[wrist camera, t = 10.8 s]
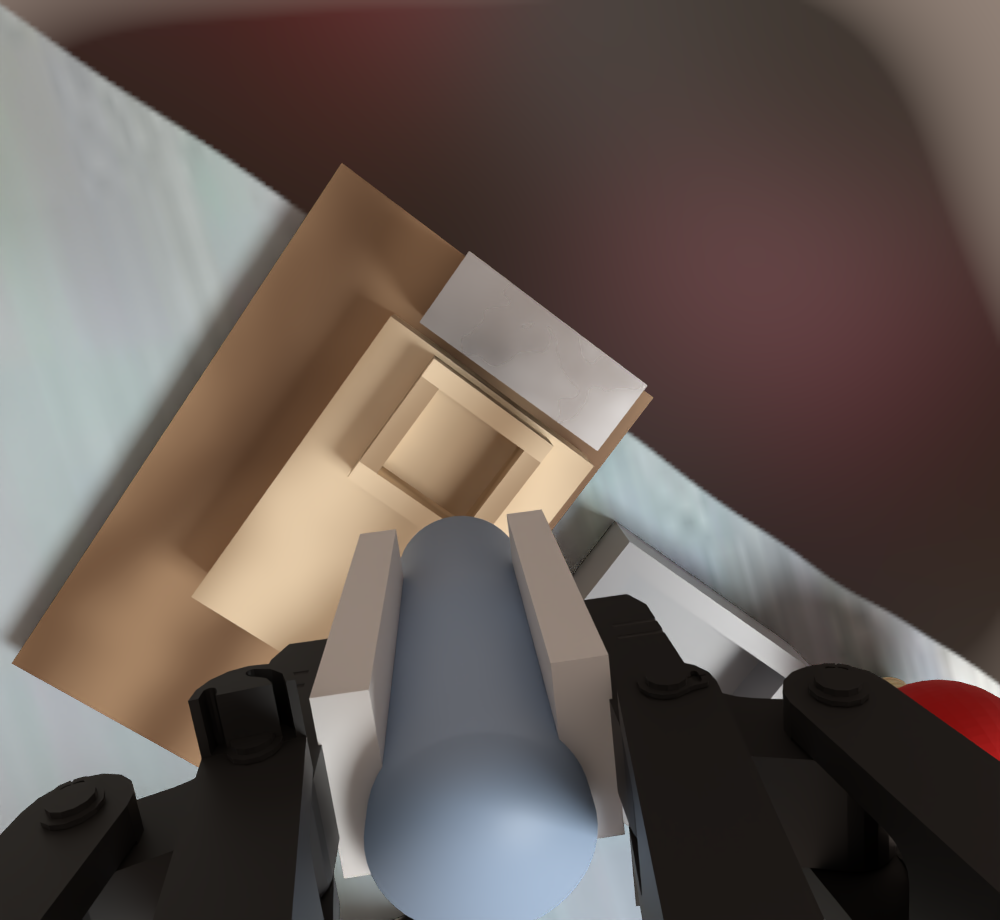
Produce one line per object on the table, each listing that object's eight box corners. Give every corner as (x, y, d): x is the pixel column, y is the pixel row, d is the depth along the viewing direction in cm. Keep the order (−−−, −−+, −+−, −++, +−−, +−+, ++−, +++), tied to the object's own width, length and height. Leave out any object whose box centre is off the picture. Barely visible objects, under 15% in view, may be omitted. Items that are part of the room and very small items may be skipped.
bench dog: (423, 316, 32) (419, 322, 27) (465, 255, 31) (469, 251, 27) (575, 426, 33) (597, 451, 28) (617, 370, 33) (647, 385, 28)
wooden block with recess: (209, 574, 34) (178, 612, 30) (395, 313, 32) (387, 317, 28) (397, 692, 35) (391, 742, 32) (583, 452, 34) (601, 474, 30)
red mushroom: (762, 696, 38) (871, 837, 29) (855, 589, 37) (1000, 696, 28) (893, 788, 40) (1037, 950, 30) (985, 688, 39) (1164, 822, 29)
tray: (476, 699, 37) (478, 734, 34) (614, 520, 36) (629, 541, 33) (650, 807, 39) (667, 849, 36) (788, 643, 38) (817, 673, 35)
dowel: (404, 638, 19) (377, 947, 10) (391, 521, 18) (350, 746, 9) (525, 626, 19) (601, 919, 10) (518, 510, 18) (593, 719, 10)
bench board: (26, 650, 35) (11, 663, 34) (345, 167, 31) (341, 162, 30) (323, 817, 38) (319, 834, 37) (646, 393, 34) (653, 397, 33)
